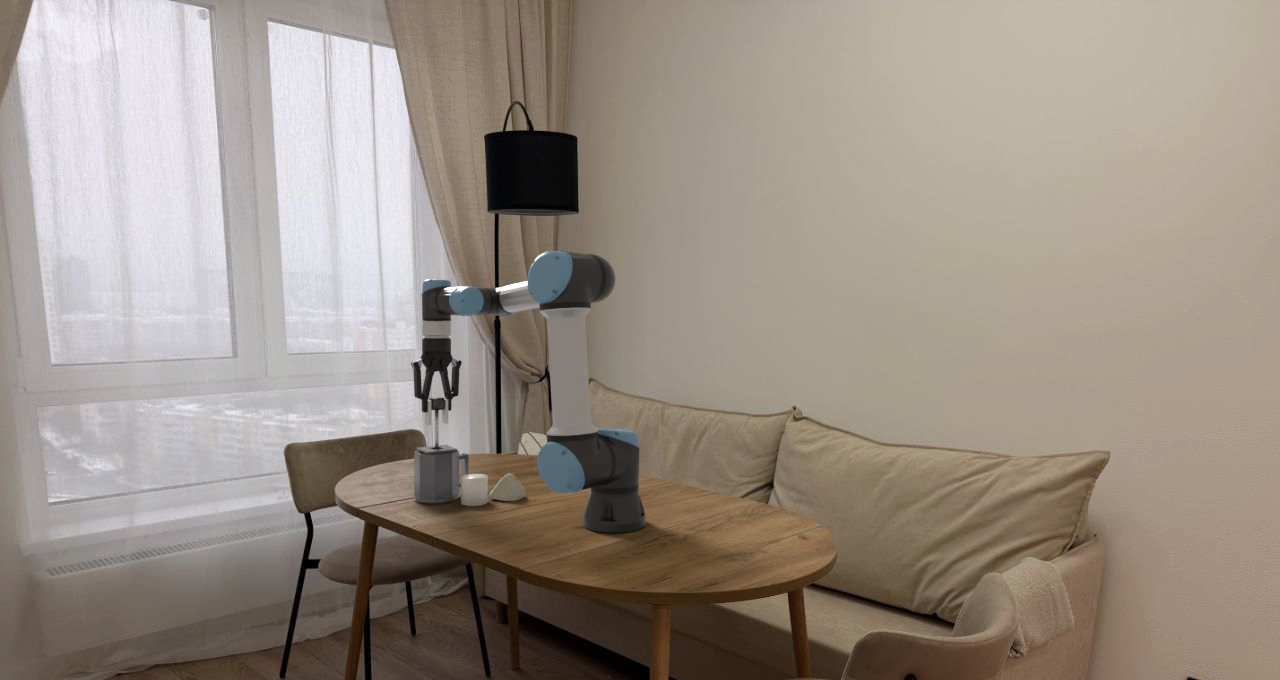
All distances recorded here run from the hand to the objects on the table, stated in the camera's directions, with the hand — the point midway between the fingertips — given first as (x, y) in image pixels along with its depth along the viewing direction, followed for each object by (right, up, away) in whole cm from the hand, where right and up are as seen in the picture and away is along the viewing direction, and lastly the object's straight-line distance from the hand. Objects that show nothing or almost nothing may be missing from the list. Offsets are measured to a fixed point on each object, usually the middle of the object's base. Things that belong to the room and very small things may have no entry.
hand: (436, 423), depth 207 cm
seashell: (+19, -21, +3) cm, 28 cm away
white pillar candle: (+11, -21, -3) cm, 24 cm away
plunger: (0, -12, 0) cm, 12 cm away
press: (+1, -21, +2) cm, 21 cm away
